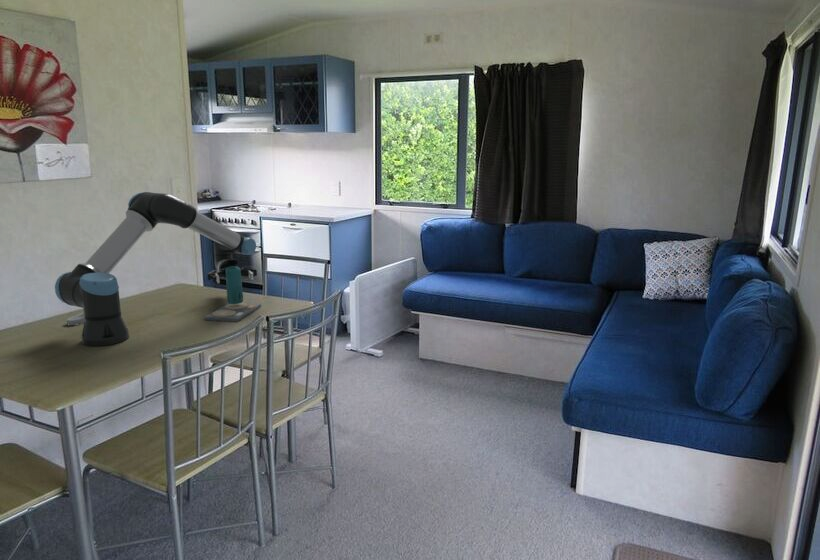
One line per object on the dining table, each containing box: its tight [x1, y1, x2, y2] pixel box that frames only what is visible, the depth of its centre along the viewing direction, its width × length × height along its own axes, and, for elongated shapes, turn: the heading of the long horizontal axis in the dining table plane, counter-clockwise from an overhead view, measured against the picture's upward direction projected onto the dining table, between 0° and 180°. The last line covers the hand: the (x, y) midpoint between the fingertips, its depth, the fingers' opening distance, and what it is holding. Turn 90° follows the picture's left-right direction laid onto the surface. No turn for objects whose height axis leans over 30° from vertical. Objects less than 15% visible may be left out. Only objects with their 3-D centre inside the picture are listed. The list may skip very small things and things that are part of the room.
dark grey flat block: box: [204, 302, 262, 322], centre depth 245 cm, size 22×14×2 cm, turn 170°
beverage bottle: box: [225, 258, 244, 304], centre depth 248 cm, size 6×7×20 cm
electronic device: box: [65, 312, 85, 326], centre depth 235 cm, size 5×10×15 cm
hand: (235, 278), depth 245 cm, fingers open, 13 cm apart
